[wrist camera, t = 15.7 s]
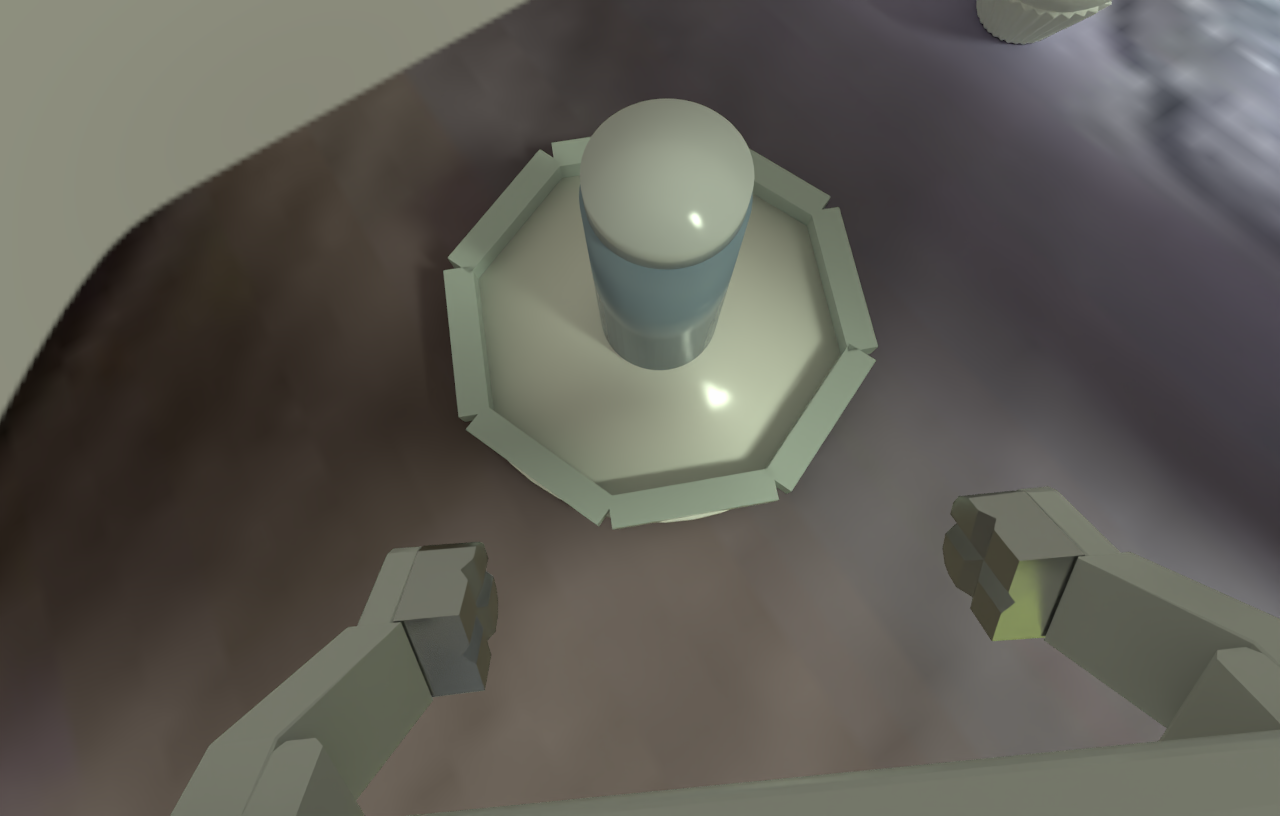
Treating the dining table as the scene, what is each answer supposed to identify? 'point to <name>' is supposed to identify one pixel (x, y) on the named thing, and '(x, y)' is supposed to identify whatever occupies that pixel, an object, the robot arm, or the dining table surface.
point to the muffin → (1033, 17)
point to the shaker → (664, 226)
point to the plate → (655, 399)
